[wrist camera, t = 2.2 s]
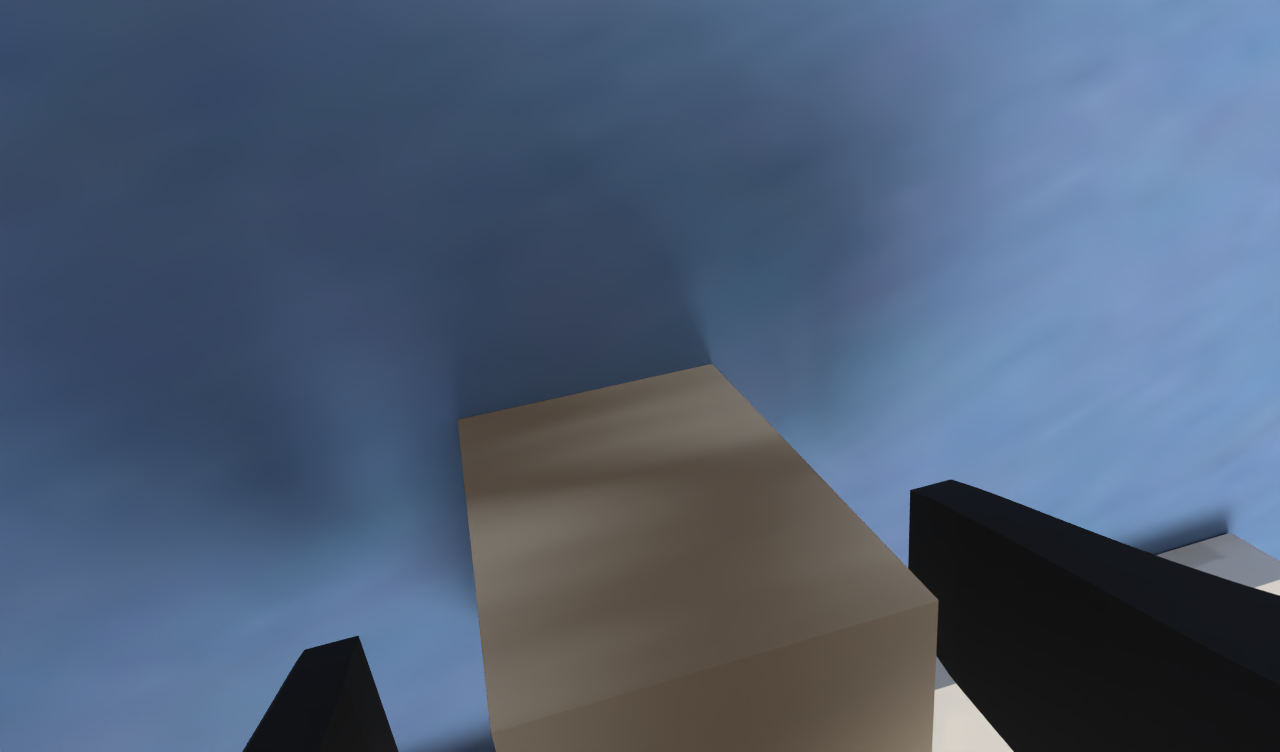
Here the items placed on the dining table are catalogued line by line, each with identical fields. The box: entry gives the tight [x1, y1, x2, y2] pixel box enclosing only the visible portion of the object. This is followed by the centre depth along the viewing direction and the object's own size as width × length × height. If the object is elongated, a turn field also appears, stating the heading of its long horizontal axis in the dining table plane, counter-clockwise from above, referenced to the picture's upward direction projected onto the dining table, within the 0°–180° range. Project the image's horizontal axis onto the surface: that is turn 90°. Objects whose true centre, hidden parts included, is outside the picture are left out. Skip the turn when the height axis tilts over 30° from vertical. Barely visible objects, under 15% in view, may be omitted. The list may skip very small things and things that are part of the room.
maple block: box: [457, 364, 939, 752], centre depth 10 cm, size 4×4×6 cm
